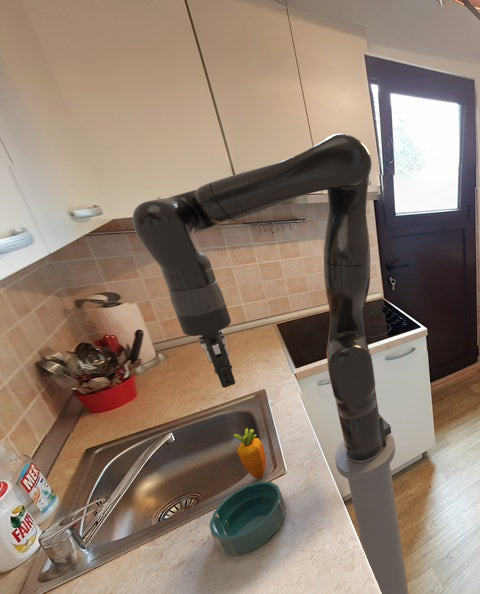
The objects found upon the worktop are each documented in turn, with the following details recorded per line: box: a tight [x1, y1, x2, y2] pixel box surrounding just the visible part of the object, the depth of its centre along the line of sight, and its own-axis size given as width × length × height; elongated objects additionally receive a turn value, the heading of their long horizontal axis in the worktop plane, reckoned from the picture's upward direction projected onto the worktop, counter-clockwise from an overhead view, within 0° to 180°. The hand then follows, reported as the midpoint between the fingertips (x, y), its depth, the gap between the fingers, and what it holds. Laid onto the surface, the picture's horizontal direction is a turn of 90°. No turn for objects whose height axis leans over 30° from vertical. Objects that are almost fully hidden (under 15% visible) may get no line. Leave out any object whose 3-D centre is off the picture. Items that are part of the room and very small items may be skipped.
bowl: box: [209, 481, 287, 556], centre depth 69 cm, size 12×12×6 cm
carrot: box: [233, 427, 267, 480], centre depth 78 cm, size 5×5×15 cm
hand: (225, 376), depth 69 cm, fingers open, 8 cm apart
